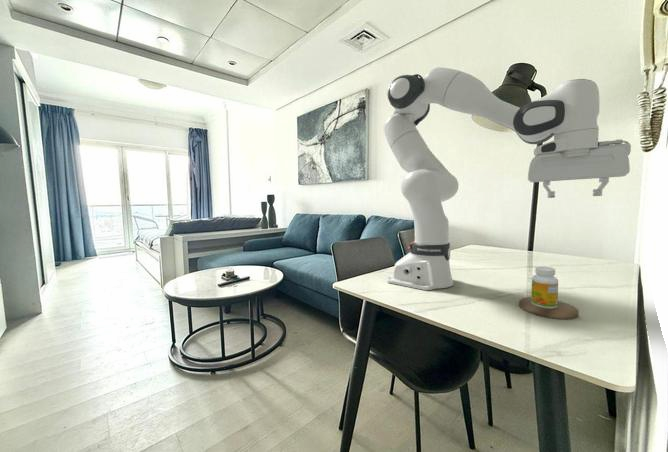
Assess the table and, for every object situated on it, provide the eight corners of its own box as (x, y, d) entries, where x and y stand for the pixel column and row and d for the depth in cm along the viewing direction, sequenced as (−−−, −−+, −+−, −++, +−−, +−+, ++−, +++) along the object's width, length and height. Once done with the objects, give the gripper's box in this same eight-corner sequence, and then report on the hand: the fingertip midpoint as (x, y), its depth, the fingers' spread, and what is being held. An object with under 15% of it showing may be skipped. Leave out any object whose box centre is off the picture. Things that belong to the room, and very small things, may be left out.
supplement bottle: (525, 301, 73) (526, 266, 72) (545, 300, 73) (546, 265, 72) (542, 309, 68) (543, 271, 67) (563, 308, 68) (564, 270, 67)
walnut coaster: (520, 313, 68) (520, 309, 68) (517, 298, 78) (518, 294, 78) (584, 323, 62) (584, 319, 62) (572, 305, 72) (572, 301, 72)
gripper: (626, 140, 69) (623, 194, 70) (527, 151, 80) (527, 198, 81) (636, 135, 64) (633, 194, 65) (529, 148, 75) (528, 198, 76)
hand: (573, 197), depth 73 cm, fingers open, 8 cm apart
